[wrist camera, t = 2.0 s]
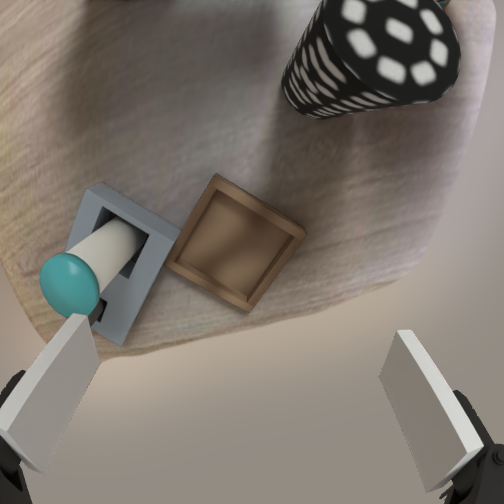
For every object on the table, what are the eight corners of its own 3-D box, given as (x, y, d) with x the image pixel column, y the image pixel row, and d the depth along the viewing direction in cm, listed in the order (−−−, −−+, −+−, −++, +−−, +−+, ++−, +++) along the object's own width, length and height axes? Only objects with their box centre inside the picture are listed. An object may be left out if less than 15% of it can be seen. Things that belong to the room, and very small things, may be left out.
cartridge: (101, 239, 36) (35, 296, 22) (117, 201, 34) (46, 245, 20) (137, 262, 37) (85, 330, 23) (156, 225, 35) (102, 282, 21)
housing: (64, 289, 39) (51, 302, 35) (101, 182, 33) (86, 188, 29) (130, 330, 41) (121, 346, 37) (182, 230, 35) (174, 241, 32)
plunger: (83, 301, 36) (68, 319, 32) (89, 283, 35) (73, 300, 31) (103, 314, 37) (89, 333, 33) (109, 296, 36) (95, 315, 32)
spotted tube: (360, 66, 28) (464, 14, 10) (344, 129, 31) (448, 129, 12) (291, 42, 27) (337, -51, 9) (273, 107, 30) (305, 66, 12)
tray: (167, 256, 37) (162, 264, 34) (216, 173, 33) (213, 175, 31) (249, 302, 39) (249, 312, 37) (303, 227, 35) (307, 234, 33)
